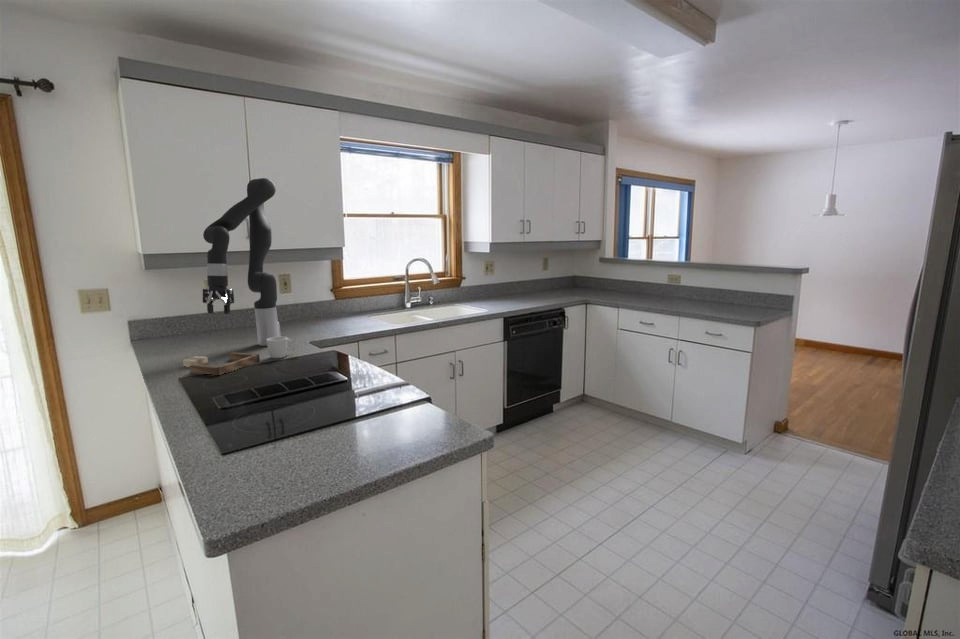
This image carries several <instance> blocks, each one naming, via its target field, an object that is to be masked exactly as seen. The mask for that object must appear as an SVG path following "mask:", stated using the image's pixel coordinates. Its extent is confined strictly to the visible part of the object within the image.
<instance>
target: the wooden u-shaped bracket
mask: <svg viewBox="0 0 960 639" xmlns="http://www.w3.org/2000/svg"><path fill="white" fill-rule="evenodd" d="M228 358H229V361H232V362H229V363H226V364H223V365H220V366H216V365H215V366H213V365H190V367H189V373H190V375H191V374H194V375H203V374H216V375H221V374H224V373H227V374H229V373H228V372H230V373H232V372H235V371H238V370H240V369H239V368H241V369H243V367H244V368H246V367H248V366H251V365H254V364H257V363H259V362H261V358H260V354H259V353H247V352H246V353H245V352H234V351H233V352H229V353H228ZM237 369H238V370H237ZM234 370H235V371H234ZM231 371H232V372H231ZM224 375H225V374H224ZM221 376H222V375H221Z"/></svg>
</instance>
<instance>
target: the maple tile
mask: <svg viewBox="0 0 960 639" xmlns="http://www.w3.org/2000/svg"><path fill="white" fill-rule="evenodd" d="M207 363H208V364H209V360H208V356H201V355H200V356H197V355H195V356H191V357H187V358H185V359H182V364H183V367H184V366H186V368H190V365H204V364H205V365H208V364H207ZM205 365H204V366H205Z"/></svg>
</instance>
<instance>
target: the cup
mask: <svg viewBox="0 0 960 639" xmlns="http://www.w3.org/2000/svg"><path fill="white" fill-rule="evenodd" d="M266 341H267V346H266V347H267V349H268V354H269V357H270V358H271V359H283V358H285V357H286V356H287V355H288V350H291V348H292V347H293V341H292V339H291V338H288V337H286V336H282V335H281V336H279V337H271V338H268V339H267V340H266Z"/></svg>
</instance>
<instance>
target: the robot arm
mask: <svg viewBox="0 0 960 639" xmlns="http://www.w3.org/2000/svg"><path fill="white" fill-rule="evenodd" d="M246 193H247V194H246V197H245V198H243V199H242V200H240V201H239V202H236V203H235V204H233V205H232V206H231V207H230V208H228V210H226V211H225V213H223V214H222V216H221V217H219V218H218V219H217V220H215V221H213V222H212V223H211V224H209V225H208V226H207V227H206V228H205V229H204V231H203V234H202V235H203V237H202V238H203V239H204V241H206V243H208V244H212V245H211V248H210V249H209V250H208V251H207V255H206V257H207V268H206V276H207V278H206V279H207V286H208V288H202V303H203V304H206V306H207V307H206V311H207V313H208V314H214V302H215V301H216V300H220V301H221V302H222V303H223V313H224V315H229V314H230V313H231V305H232V304H234V303H235V295H234V289H233V288H227V287H228V285H229V280H228V279H229V277H228V273H229V272H228V265H227V261H228V260H227V253H228V249H229V244H230V234H229V232H231V231H235V230H236V228H238V227H239V226H240V225H241V224H242V223H243V222H244V221H245V220H246V219H247V218H249V222H248V223H249V227H248V228H249V232H248V234H249V237H248V238H249V262H248V272H247V287H248V289H249V290H250V291H251V292H253V293H259V294H260V297H259V299H258V300H256V301H254V303H253V305H254V306H253V307H254V314H255V315H254V316H255V323H256V325H255V326H256V333H257V342H258V346H261V347H262V346H263V347H265V346H266V347H268V346H267V341H266V340H267V339H268V338H271V337H279V336H282V335H281V325H280V322H279V321H278V311H277V300H278V293H277V292H278V291H277V290H278V288H277V279H276V277H275V275H274V274H272V273H271V272H264V261H265V259H266V257H267V255H268V253H269V251H270V249H271V246H272V227H271V225H270V222H269V221H268V218H267V215H266V213H265V203H266V202H267V201H269V200H270V199H271V198H273V197H274V196H275V194H276V185H275V183H274V181H272V180H271V179H270V178H266V177H261V178H255V179H251V180H249V181H248V183H247V185H246Z"/></svg>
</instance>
